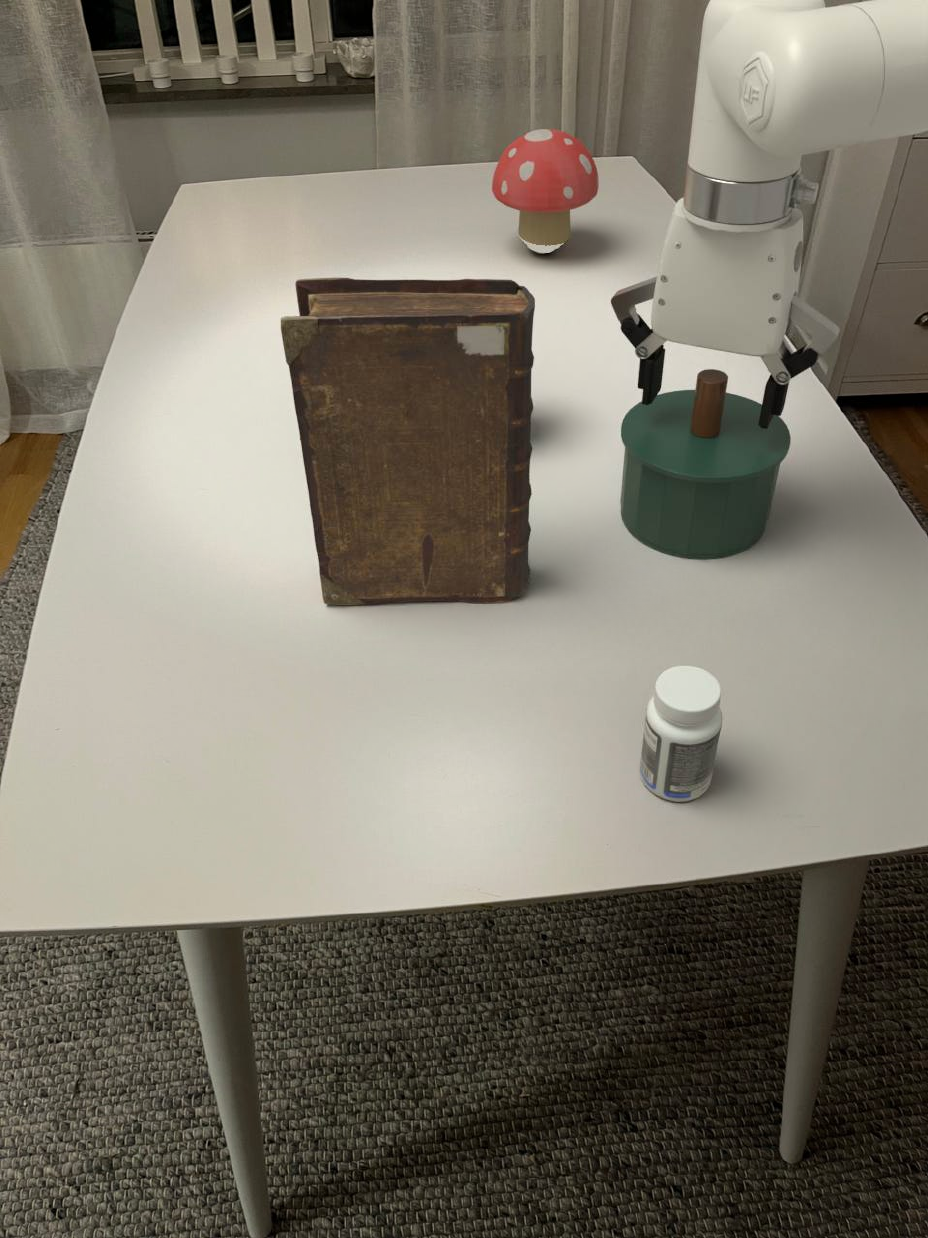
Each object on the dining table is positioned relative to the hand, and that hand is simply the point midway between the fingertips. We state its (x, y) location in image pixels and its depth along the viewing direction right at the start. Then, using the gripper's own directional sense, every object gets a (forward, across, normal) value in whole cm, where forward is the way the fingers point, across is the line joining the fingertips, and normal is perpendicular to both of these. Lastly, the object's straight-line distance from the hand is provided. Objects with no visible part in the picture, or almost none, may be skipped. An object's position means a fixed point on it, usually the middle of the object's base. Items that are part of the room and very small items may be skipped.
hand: (707, 408), depth 82 cm
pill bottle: (+11, -7, +29) cm, 32 cm away
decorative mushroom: (+11, +34, -49) cm, 60 cm away
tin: (+11, 0, 0) cm, 11 cm away
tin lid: (+3, 0, 0) cm, 3 cm away
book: (+11, +17, +18) cm, 27 cm away
